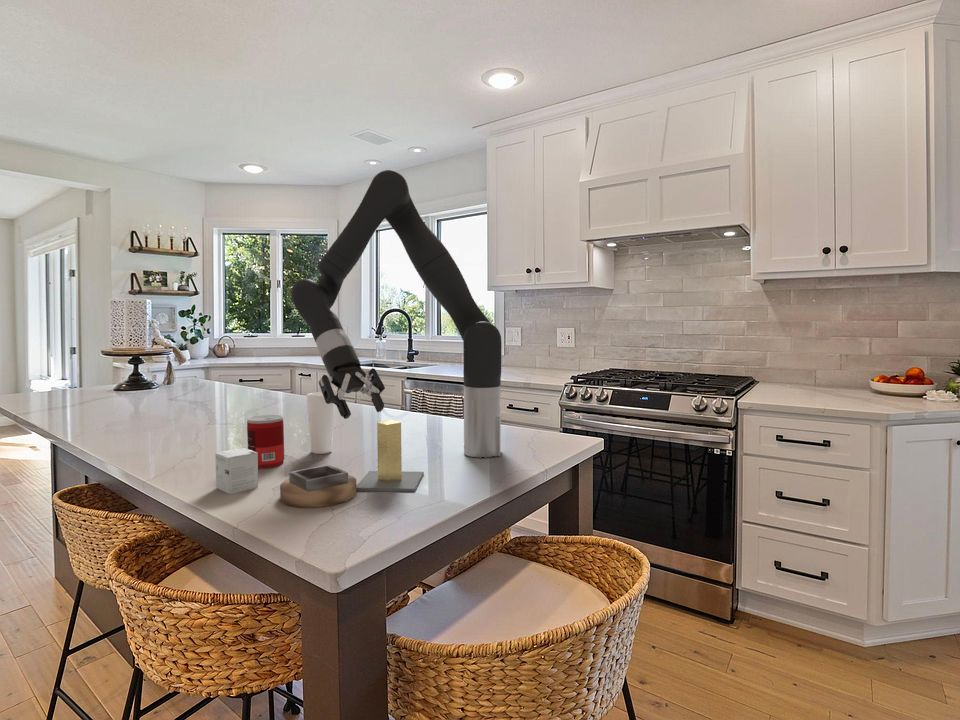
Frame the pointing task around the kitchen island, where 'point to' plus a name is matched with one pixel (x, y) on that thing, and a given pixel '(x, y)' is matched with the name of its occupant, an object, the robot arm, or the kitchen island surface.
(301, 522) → the kitchen island surface
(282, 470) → the kitchen island surface
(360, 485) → the mat
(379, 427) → the brass bar
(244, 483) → the skincare box
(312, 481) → the copper round socket base
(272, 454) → the canned food
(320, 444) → the drinking glass
